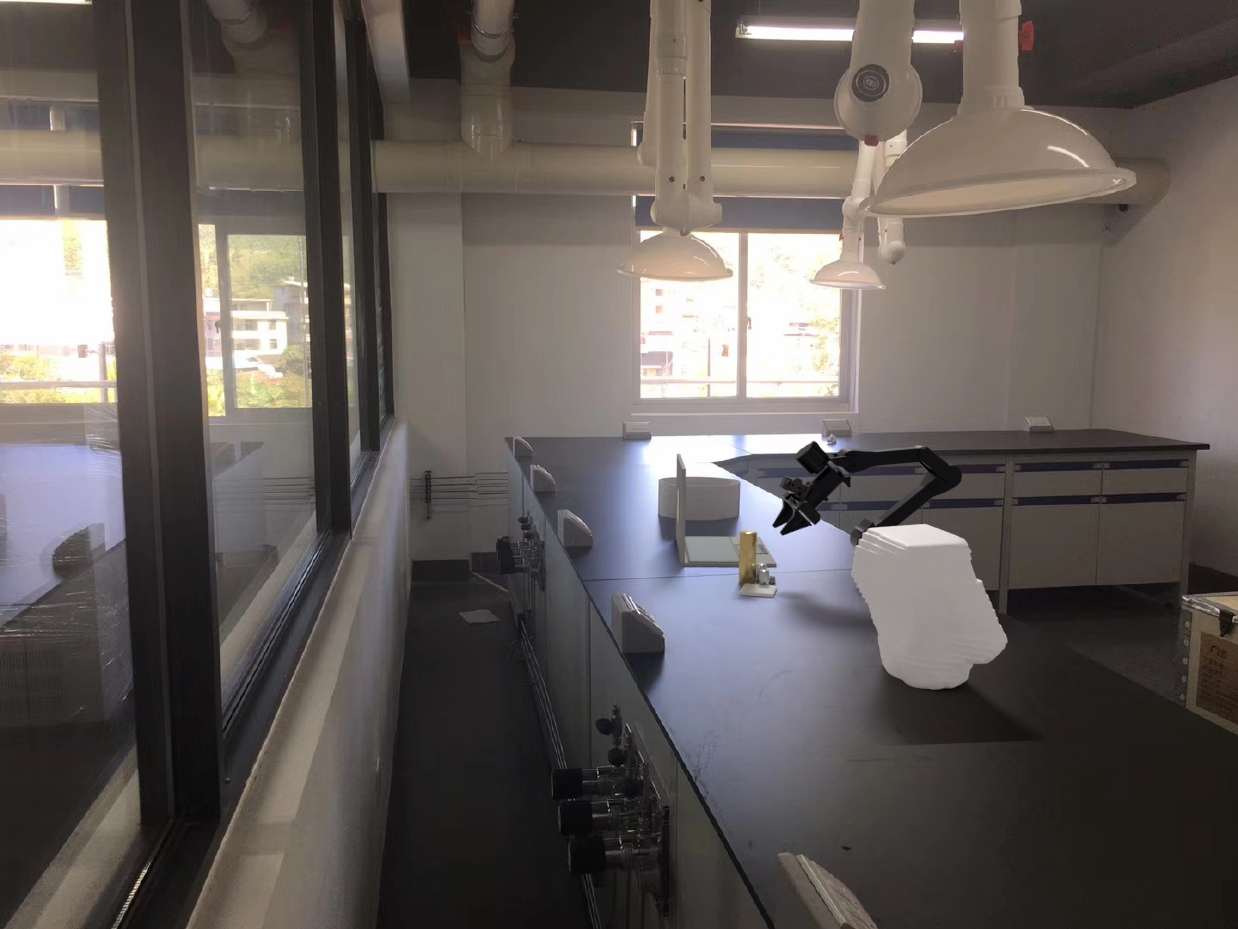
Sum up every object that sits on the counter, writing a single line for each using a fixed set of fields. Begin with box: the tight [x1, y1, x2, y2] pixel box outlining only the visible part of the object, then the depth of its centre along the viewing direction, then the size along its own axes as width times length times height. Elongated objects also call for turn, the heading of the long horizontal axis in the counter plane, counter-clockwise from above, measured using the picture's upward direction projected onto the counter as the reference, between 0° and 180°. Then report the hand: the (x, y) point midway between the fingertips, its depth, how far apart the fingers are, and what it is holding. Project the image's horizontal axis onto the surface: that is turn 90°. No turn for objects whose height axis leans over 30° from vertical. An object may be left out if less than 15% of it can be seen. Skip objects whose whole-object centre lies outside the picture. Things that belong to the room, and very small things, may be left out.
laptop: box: [675, 453, 777, 568], centre depth 268 cm, size 35×26×27 cm
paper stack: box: [850, 523, 1008, 691], centre depth 168 cm, size 21×27×26 cm
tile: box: [739, 583, 778, 598], centre depth 227 cm, size 8×8×1 cm
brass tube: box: [738, 530, 758, 586], centre depth 235 cm, size 4×4×13 cm
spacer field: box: [756, 563, 776, 585], centre depth 236 cm, size 8×10×4 cm
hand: (777, 530), depth 234 cm, fingers open, 9 cm apart
